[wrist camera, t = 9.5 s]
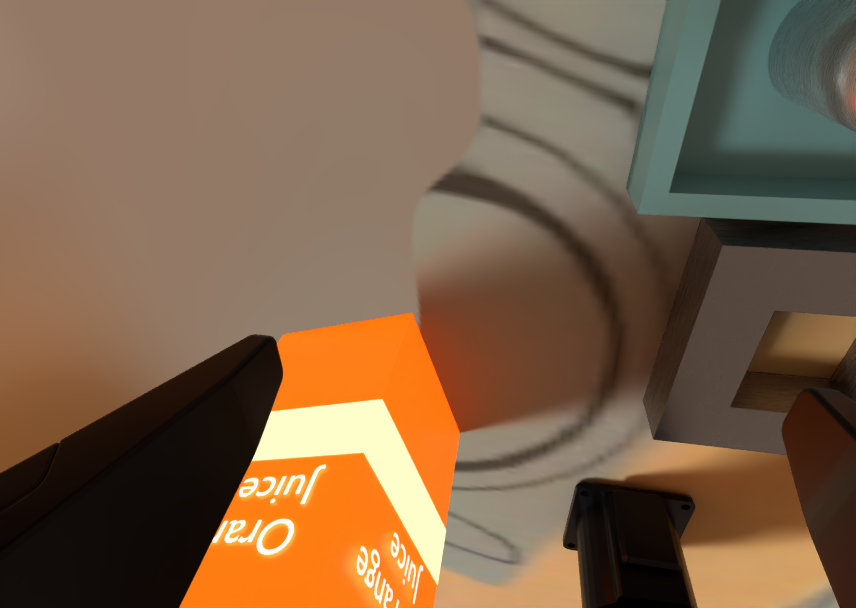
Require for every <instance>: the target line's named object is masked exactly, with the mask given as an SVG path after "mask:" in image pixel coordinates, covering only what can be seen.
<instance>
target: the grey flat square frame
mask: <svg viewBox="0 0 856 608" xmlns="http://www.w3.org/2000/svg"><path fill="white" fill-rule="evenodd" d="M774 311H786V312H799V313H812V314H826V315H839V316H852V317H856V225H853V224H832V223H811V222H791V221H770V220H750V219H729V218H709V217H702V218H701V221H700V224H699V227H698V230H697V233H696V236H695V240H694V243H693V246H692V249H691V252H690V255H689V258H688V261H687V265H686V268H685V271H684V274H683V277H682V280H681V283H680V286H679V290H678V293H677V296H676V299H675V302H674V305H673V308H672V311H671V315H670V318H669V321H668V324H667V327H666V330H665V333H664V336H663V340H662V343H661V346H660V349H659V352H658V355H657V358H656V362H655V365H654V368H653V371H652V374H651V377H650V380H649V383H648V387H647V390H646V393H645V396H644V399H643V402H644V406H645V410H646V414H647V418H648V421H649V425H650V429H651V433H652V437H653V439H654V440H662V441H671V442H679V443H688V444H697V445H705V446H714V447H723V448H731V449H740V450H748V451H757V452H766V453H774V454H783V455H787V452H786V449H785V445H784V442H783V438H782V424H783V421H784V419H785V417H786V416H787V414H788V412H789V410H790V409H791V407H792V405H793V403H794V402H795V400H796V398H797V396H798V395H799V393H800V392H801V391H802V390H803V389H805V388H808V387H814V388H824V389H833V390H836V391H839V392H840V393H842V394H844V395H845V396H847V397H848V398H850V399H851V400H853V401H855V402H856V338H855V340H854V342H853V343H852V345H851V347H850V348H849V350H848V352H847V353H846V355H845V357H844V358H843V360H842V362H841V363H840V365H839V367H838V368H837V370H836V372H835V373H834V375H833V377H832V378H831V379H823V378H812V377H802V376H791V375H780V374H769V373H759V372H748V371H747V369H748V367H749V365H750V362H751V360H752V358H753V356H754V354H755V352H756V349H757V347H758V345H759V343H760V341H761V339H762V337H763V334H764V332H765V330H766V328H767V326H768V324H769V322H770V319H771V317H772V315H773V313H774Z"/></svg>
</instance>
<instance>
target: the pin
mask: <svg viewBox="0 0 856 608" xmlns="http://www.w3.org/2000/svg"><path fill="white" fill-rule="evenodd" d="M768 72H769V77H770V80H771V83H772V84H773V86H774V88H775V89H776V91H777V92H778V93H779V94H780V95H781V96H782V97H784V98H785V99H787V100H789V101H790V102H793V103H795V104H797V105H799V106H801V107H803V108H805V109H807V110H810V111H812V112H814V113H816V114H818V115H820V116H822V117H824V118H827V119H829V120H831V121H833V122H835V123H837V124H839V125H841V126H844V127H846V128H848V129H850V130H852V131H854V132H856V0H800V1H799V2H798V3H797V4H796V5H795V6H794V7H793V8H792V9H791V10H790V11H789V13H788V14H787V15H786V17H785V18H784V19H783V21H782V22H781V24H780V26H779V27H778V29H777V31H776V33H775V35H774V38H773V40H772V43H771V46H770V50H769V55H768Z"/></svg>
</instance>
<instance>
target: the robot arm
mask: <svg viewBox="0 0 856 608" xmlns="http://www.w3.org/2000/svg"><path fill="white" fill-rule="evenodd" d="M282 379H283V366H282V362H281V358H280V354H279V350H278V346H277V343H276V340H275V339H274V338H273V337H272V336H266V335H256V334H255V335H250V336H248V337H246V338H244V339H243V340H241V341H239V342H237V343H235V344H233V345H232V346H230V347H228V348H226V349H224V350H223V351H221V352H219V353H217V354H215V355H214V356H212V357H210V358H208V359H206V360H205V361H203V362H201V363H199V364H197V365H196V366H194V367H192V368H190V369H188V370H187V371H185V372H183V373H181V374H179V375H178V376H176V377H174V378H172V379H170V380H168V381H167V382H165V383H163V384H161V385H159V386H158V387H156V388H154V389H152V390H150V391H149V392H147V393H145V394H143V395H141V396H140V397H138V398H136V399H134V400H132V401H130V402H129V403H127V404H125V405H123V406H121V407H120V408H118V409H116V410H114V411H112V412H111V413H109V414H107V415H105V416H103V417H102V418H100V419H98V420H96V421H94V422H93V423H91V424H89V425H87V426H85V427H84V428H82V429H80V430H78V431H76V432H74V433H73V434H71V435H69V436H67V437H65V438H64V439H62V440H61V441H60V443H55V444H53V445H51V446H49V447H47V448H45V449H44V450H42V451H40V452H38V453H36V454H35V455H33V456H31V457H29V458H28V459H26V460H24V461H22V462H20V463H18V464H16V465H14V466H12V467H11V468H9V469H7V470H5V471H3V472H1V473H0V608H179V607H180V605H181V603H182V601H183V599H184V597H185V595H186V593H187V591H188V589H189V587H190V585H191V583H192V581H193V579H194V577H195V575H196V573H197V571H198V569H199V567H200V565H201V563H202V561H203V559H204V557H205V555H206V553H207V551H208V549H209V547H210V545H211V543H212V541H213V539H214V537H215V535H216V533H217V530H218V528H219V526H220V524H221V522H222V520H223V518H224V516H225V514H226V512H227V510H228V508H229V506H230V504H231V502H232V500H233V498H234V496H235V494H236V492H237V490H238V488H239V486H240V484H241V482H242V480H243V478H244V476H245V474H246V472H247V470H248V468H249V466H250V464H251V462H252V459H253V457H254V455H255V453H256V451H257V448H258V446H259V443H260V441H261V438H262V435H263V432H264V430H265V427H266V424H267V421H268V419H269V416H270V413H271V410H272V408H273V405H274V402H275V399H276V397H277V394H278V391H279V388H280V386H281V383H282ZM782 438H783V442H784V445H785V449H786V452H787V456H788V460H789V463H790V467H791V471H792V474H793V478H794V481H795V485H796V489H797V492H798V496H799V500H800V503H801V507H802V510H803V514H804V517H805V520H806V523H807V526H808V529H809V532H810V534H811V537H812V540H813V542H814V545H815V547H816V550H817V552H818V555H819V557H820V560H821V562H822V565H823V567H824V570H825V572H826V575H827V577H828V580H829V582H830V585H831V587H832V590H833V592H834V595H835V597H836V600H837V602H838V605H839V607H840V608H856V402H855V401H853V400H851V399H850V398H848V397H847V396H845V395H844V394H842V393H840V392H839V391H836V390H833V389H824V388H814V387H808V388H805V389H803V390H802V391H801V392H800V393H799V395H798V396H797V398H796V400H795V402H794V403H793V405H792V407H791V409H790V410H789V412H788V414H787V416H786V417H785V419H784V421H783V424H782ZM694 509H695V504H694V501H693V499H692V498H691V497H689V496H685V495H677V494H670V493H662V492H654V491H647V490H639V489H632V488H624V487H616V486H609V485H601V484H594V483H586V482H582V483H578V484H577V485H576V487H575V491H574V495H573V499H572V503H571V507H570V511H569V515H568V519H567V523H566V528H565V532H564V536H563V546H564V547H565V548H567V549H570V550H576V551H578V562H579V574H580V586H581V598H582V608H698V607H697V603H696V600H695V596H694V592H693V588H692V584H691V581H690V577H689V573H688V569H687V566H686V562H685V558H684V554H683V550H682V547H681V543H680V538H681V536H682V534H683V532H684V530H685V528H686V526H687V524H688V522H689V520H690V518H691V516H692V514H693V512H694Z"/></svg>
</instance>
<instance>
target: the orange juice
mask: <svg viewBox="0 0 856 608" xmlns="http://www.w3.org/2000/svg"><path fill="white" fill-rule="evenodd" d="M277 346H278V350H279V354H280V358H281V362H282V366H283V379H282V383H281V386H280V388H279V391H278V394H277V397H276V399H275V402H274V405H273V408H272V410H271V413H270V416H269V419H268V421H267V424H266V427H265V430H264V432H263V435H262V438H261V441H260V443H259V446H258V448H257V451H256V453H255V455H254V457H253V459H252V462H251V464H250V466H249V468H248V470H247V472H246V474H245V476H244V478H243V480H242V482H241V484H240V486H239V488H238V490H237V492H236V494H235V496H234V498H233V500H232V502H231V504H230V506H229V508H228V510H227V512H226V514H225V516H224V518H223V520H222V522H221V524H220V526H219V528H218V530H217V533H216V535H215V537H214V539H213V541H212V543H211V545H210V547H209V549H208V551H207V553H206V555H205V557H204V559H203V561H202V563H201V565H200V567H199V569H198V571H197V573H196V575H195V577H194V579H193V581H192V583H191V585H190V587H189V589H188V591H187V593H186V595H185V597H184V599H183V601H182V603H181V605H180V607H179V608H433V605H434V599H435V592H436V586H437V585H438V580H439V573H440V567H441V560H442V554H443V547H444V540H445V534H446V529H445V527H446V520H447V514H448V507H449V501H450V494H451V488H452V481H453V474H454V468H455V461H456V455H457V448H458V442H459V435H460V432H459V430H458V427H457V425H456V422H455V420H454V417H453V415H452V412H451V409H450V407H449V404H448V402H447V399H446V397H445V394H444V392H443V389H442V387H441V384H440V382H439V379H438V377H437V374H436V372H435V369H434V367H433V364H432V361H431V359H430V356H429V354H428V351H427V349H426V346H425V344H424V341H423V339H422V336H421V334H420V331H419V329H418V326H417V324H416V321H415V319H414V316H413V314H412V313H408V314H402V315H396V316H390V317H384V318H378V319H372V320H366V321H360V322H354V323H349V324H343V325H336V326H330V327H324V328H318V329H313V330H307V331H301V332H295V333H289V334H284V335H283V336H282V338H281V339H280V341H279V342H278V344H277Z"/></svg>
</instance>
